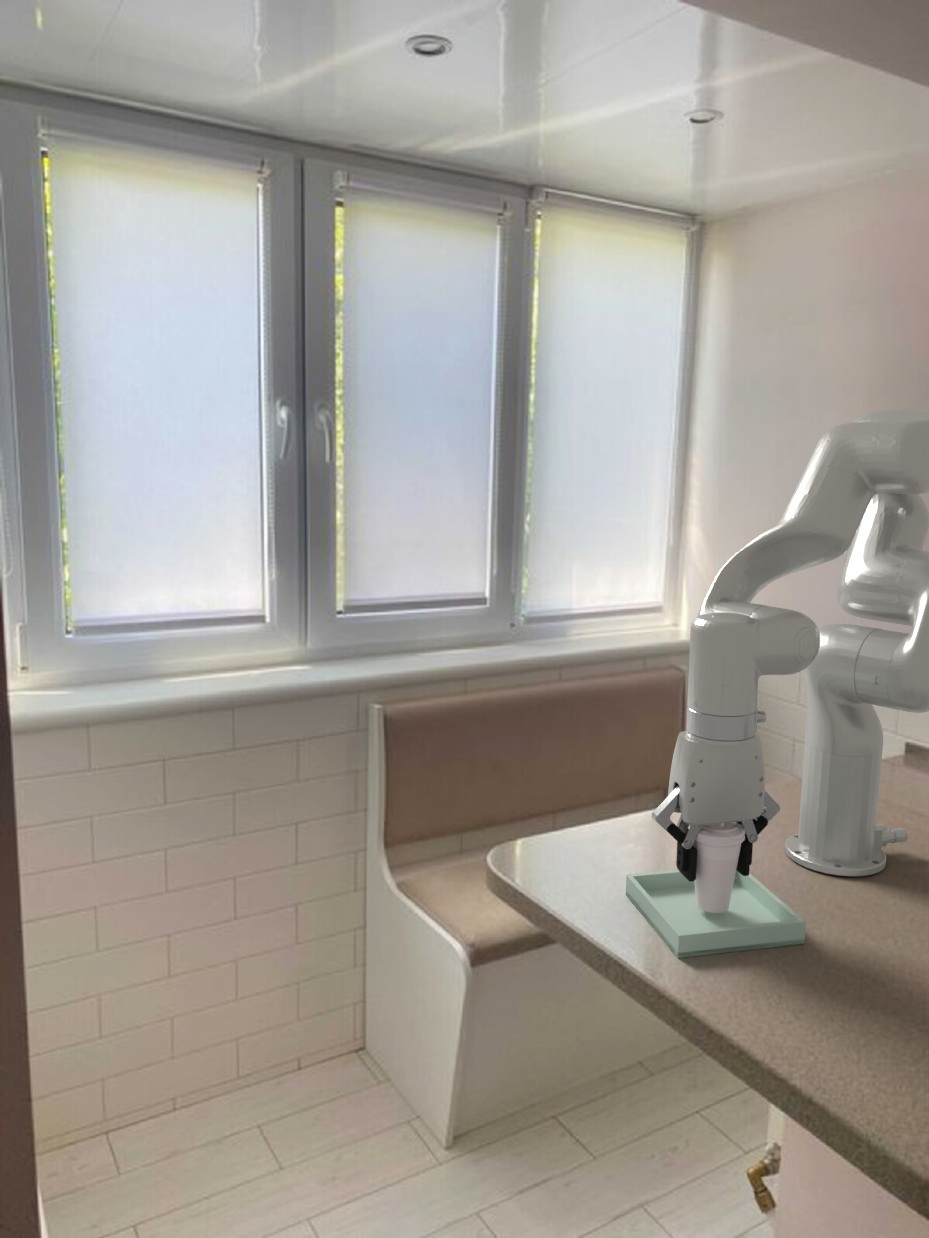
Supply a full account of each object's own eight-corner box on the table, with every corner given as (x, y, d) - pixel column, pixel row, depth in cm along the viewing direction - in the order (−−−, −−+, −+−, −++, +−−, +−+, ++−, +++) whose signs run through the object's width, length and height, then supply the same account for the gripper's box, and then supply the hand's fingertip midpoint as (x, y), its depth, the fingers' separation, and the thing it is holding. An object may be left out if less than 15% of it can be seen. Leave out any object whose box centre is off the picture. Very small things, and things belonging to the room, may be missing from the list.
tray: (737, 883, 118) (739, 863, 117) (804, 943, 103) (805, 921, 103) (625, 894, 114) (626, 874, 114) (677, 958, 100) (678, 935, 100)
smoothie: (743, 921, 105) (750, 803, 102) (684, 915, 106) (690, 798, 104) (738, 895, 111) (745, 783, 109) (683, 890, 112) (688, 779, 110)
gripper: (773, 710, 110) (764, 853, 113) (635, 718, 107) (631, 866, 110) (808, 728, 103) (798, 880, 106) (662, 738, 99) (656, 895, 103)
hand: (713, 872), depth 108 cm, fingers closed on smoothie, 5 cm apart
